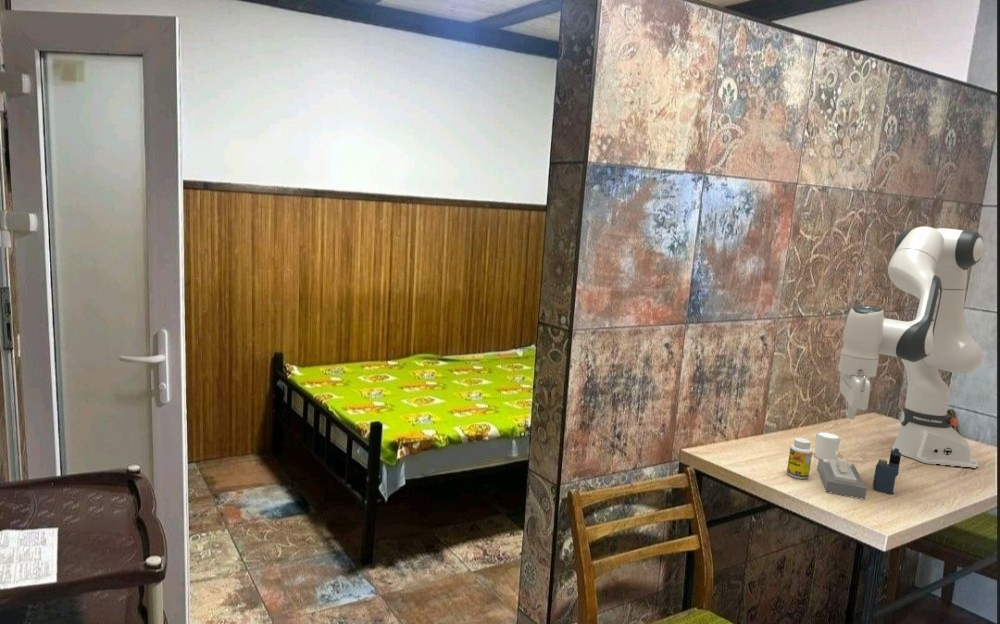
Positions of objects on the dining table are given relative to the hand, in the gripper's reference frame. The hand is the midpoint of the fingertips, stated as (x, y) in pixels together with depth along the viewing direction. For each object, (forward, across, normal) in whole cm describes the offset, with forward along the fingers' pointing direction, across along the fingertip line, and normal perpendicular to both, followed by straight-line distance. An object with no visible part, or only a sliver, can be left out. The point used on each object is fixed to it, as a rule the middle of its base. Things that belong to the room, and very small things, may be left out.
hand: (849, 417), depth 175 cm
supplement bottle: (+19, 0, +10) cm, 21 cm away
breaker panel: (+18, 0, 0) cm, 18 cm away
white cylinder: (+19, +21, +1) cm, 28 cm away
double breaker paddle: (+14, 0, 0) cm, 14 cm away
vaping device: (+19, 0, -11) cm, 21 cm away
